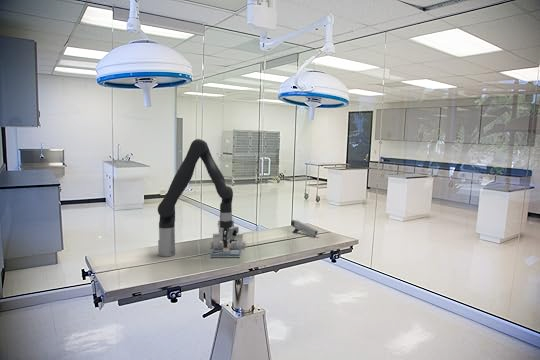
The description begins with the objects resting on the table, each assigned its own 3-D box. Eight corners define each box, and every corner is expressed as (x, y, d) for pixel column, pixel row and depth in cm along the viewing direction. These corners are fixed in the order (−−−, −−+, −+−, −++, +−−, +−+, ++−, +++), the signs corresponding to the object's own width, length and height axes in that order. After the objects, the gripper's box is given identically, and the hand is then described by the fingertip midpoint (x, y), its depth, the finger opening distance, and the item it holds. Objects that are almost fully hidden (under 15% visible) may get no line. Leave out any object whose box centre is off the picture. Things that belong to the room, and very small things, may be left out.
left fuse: (213, 248, 224) (212, 234, 224) (213, 246, 228) (213, 232, 227) (218, 248, 224) (218, 234, 224) (219, 246, 228) (219, 232, 227)
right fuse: (236, 248, 225) (236, 234, 224) (237, 246, 228) (237, 232, 228) (242, 248, 225) (242, 234, 224) (242, 246, 228) (242, 232, 228)
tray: (210, 258, 208) (210, 254, 208) (213, 251, 222) (213, 247, 221) (239, 258, 209) (239, 254, 208) (240, 251, 222) (240, 247, 222)
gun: (291, 230, 276) (293, 218, 274) (315, 243, 260) (318, 230, 257) (288, 230, 275) (291, 218, 272) (313, 243, 258) (316, 231, 255)
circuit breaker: (232, 245, 236) (232, 223, 234) (217, 242, 244) (217, 220, 243) (240, 243, 242) (240, 221, 240) (225, 239, 250) (225, 219, 249)
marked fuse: (222, 254, 213) (222, 240, 212) (223, 252, 217) (223, 238, 216) (228, 254, 213) (228, 240, 212) (229, 252, 217) (229, 238, 216)
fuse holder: (209, 251, 222) (209, 243, 221) (212, 247, 231) (211, 240, 230) (244, 251, 222) (244, 243, 222) (245, 247, 231) (245, 240, 231)
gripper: (221, 217, 220) (221, 242, 222) (218, 221, 206) (218, 248, 207) (233, 217, 220) (233, 242, 222) (231, 221, 206) (231, 248, 208)
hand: (226, 245), depth 215 cm, fingers open, 8 cm apart
